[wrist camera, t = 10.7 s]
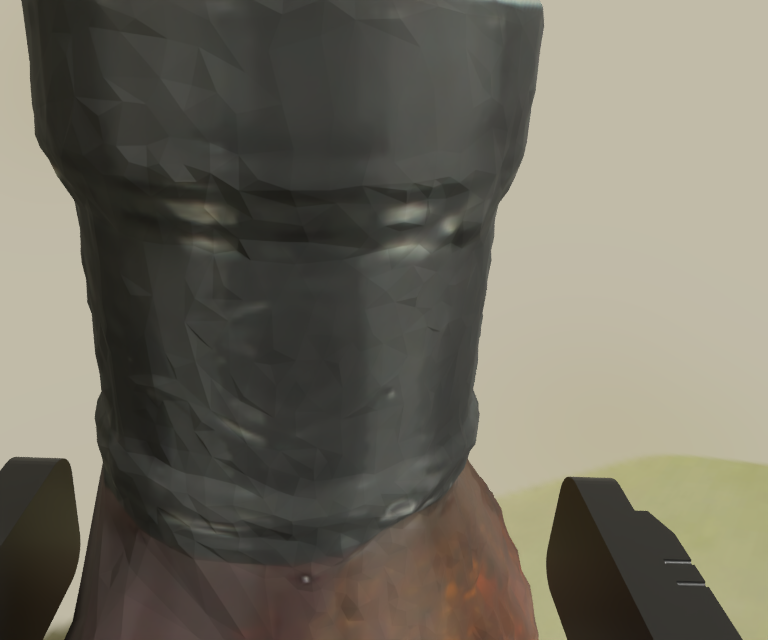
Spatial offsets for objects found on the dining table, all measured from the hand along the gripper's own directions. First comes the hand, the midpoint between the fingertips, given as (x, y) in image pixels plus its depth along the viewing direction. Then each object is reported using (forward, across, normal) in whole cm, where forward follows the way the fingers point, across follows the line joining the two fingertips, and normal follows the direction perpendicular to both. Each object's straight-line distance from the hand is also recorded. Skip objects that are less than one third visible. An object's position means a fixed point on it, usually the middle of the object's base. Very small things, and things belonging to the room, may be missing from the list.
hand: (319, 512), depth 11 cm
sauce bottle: (-2, 0, +12) cm, 13 cm away
